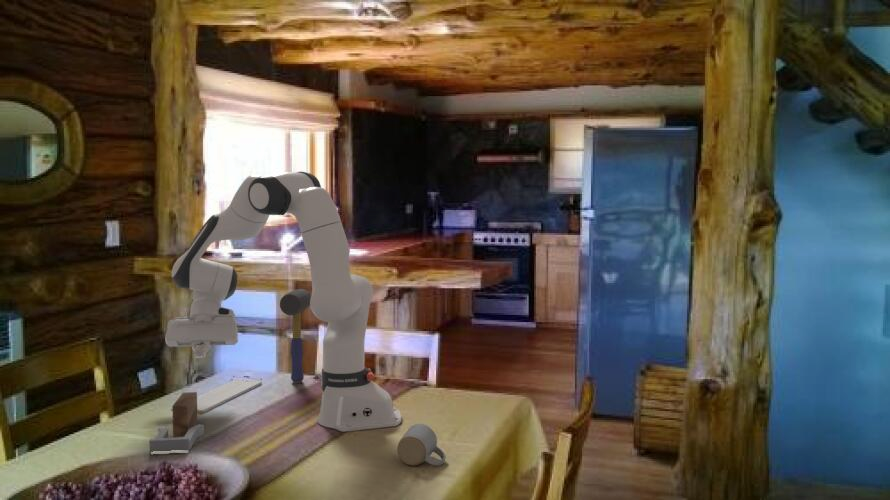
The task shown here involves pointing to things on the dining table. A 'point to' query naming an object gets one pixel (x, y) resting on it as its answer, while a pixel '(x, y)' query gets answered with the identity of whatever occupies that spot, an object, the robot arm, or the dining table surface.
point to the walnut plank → (184, 413)
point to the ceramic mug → (419, 446)
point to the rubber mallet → (296, 327)
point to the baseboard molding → (224, 394)
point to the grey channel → (175, 439)
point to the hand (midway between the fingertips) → (199, 356)
